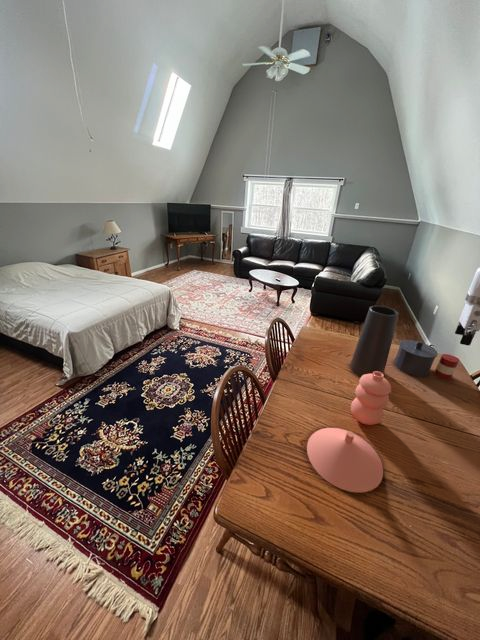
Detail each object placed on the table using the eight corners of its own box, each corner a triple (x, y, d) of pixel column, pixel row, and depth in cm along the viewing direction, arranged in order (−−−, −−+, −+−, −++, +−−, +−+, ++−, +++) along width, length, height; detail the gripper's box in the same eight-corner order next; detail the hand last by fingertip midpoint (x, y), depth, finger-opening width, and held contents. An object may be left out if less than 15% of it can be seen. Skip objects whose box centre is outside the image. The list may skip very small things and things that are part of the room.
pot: (421, 361, 127) (428, 343, 123) (433, 378, 115) (441, 359, 111) (390, 356, 130) (396, 339, 126) (399, 373, 118) (406, 354, 114)
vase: (344, 369, 119) (359, 308, 106) (358, 358, 127) (374, 301, 115) (375, 384, 110) (395, 320, 97) (388, 371, 118) (408, 311, 106)
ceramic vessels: (370, 510, 65) (393, 457, 57) (294, 459, 77) (303, 409, 69) (400, 426, 90) (419, 381, 82) (339, 397, 102) (350, 355, 94)
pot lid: (428, 344, 124) (431, 336, 122) (442, 361, 111) (446, 353, 109) (394, 340, 126) (397, 332, 125) (404, 356, 114) (407, 347, 112)
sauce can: (447, 372, 120) (455, 355, 116) (454, 380, 114) (462, 363, 110) (431, 369, 121) (439, 352, 117) (437, 378, 115) (445, 360, 112)
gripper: (498, 309, 93) (479, 351, 101) (484, 295, 108) (468, 332, 115) (471, 305, 97) (454, 346, 104) (461, 292, 111) (447, 329, 118)
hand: (461, 339), depth 109 cm, fingers open, 9 cm apart
